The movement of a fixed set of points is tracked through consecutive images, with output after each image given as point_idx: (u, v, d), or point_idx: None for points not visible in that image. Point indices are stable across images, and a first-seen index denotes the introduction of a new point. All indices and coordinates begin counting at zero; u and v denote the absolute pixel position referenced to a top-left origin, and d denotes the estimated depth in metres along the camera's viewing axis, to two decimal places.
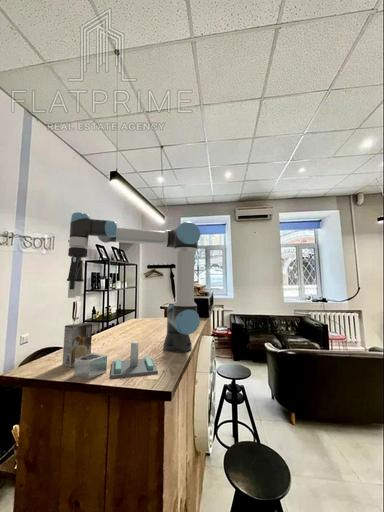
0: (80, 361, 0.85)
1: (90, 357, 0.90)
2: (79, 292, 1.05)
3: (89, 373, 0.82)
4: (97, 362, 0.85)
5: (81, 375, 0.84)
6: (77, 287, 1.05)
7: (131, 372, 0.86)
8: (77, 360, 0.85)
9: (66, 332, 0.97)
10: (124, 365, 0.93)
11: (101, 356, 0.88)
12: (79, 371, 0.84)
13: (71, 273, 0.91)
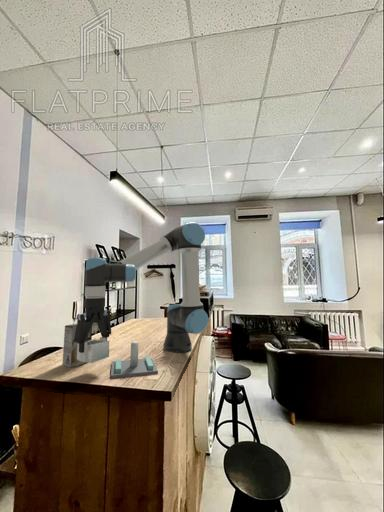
0: None
1: (92, 343, 0.91)
2: None
3: (92, 357, 0.83)
4: (99, 347, 0.86)
5: None
6: None
7: (131, 372, 0.86)
8: None
9: (66, 332, 0.97)
10: (124, 365, 0.93)
11: (103, 341, 0.89)
12: None
13: (76, 335, 0.83)
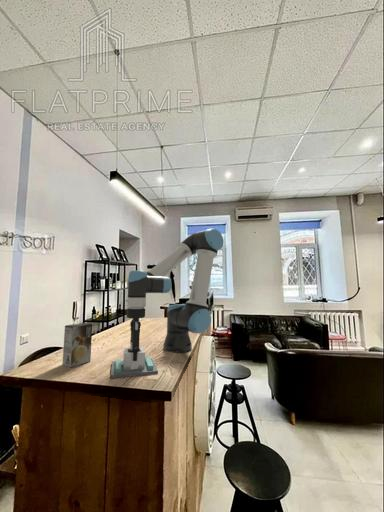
0: None
1: (127, 352, 0.94)
2: None
3: (144, 363, 0.91)
4: None
5: None
6: None
7: (131, 372, 0.86)
8: (128, 355, 0.89)
9: (66, 332, 0.97)
10: None
11: (140, 348, 0.97)
12: None
13: (135, 345, 0.87)
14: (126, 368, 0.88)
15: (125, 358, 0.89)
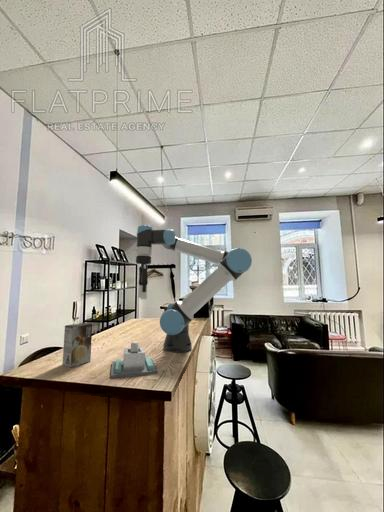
0: (132, 355, 0.89)
1: (127, 352, 0.94)
2: None
3: (144, 363, 0.91)
4: None
5: (134, 367, 0.89)
6: (140, 290, 1.21)
7: (131, 372, 0.86)
8: (128, 355, 0.89)
9: (66, 332, 0.97)
10: None
11: (140, 348, 0.97)
12: (131, 364, 0.89)
13: (144, 278, 1.07)
14: (126, 368, 0.88)
15: (125, 358, 0.89)
